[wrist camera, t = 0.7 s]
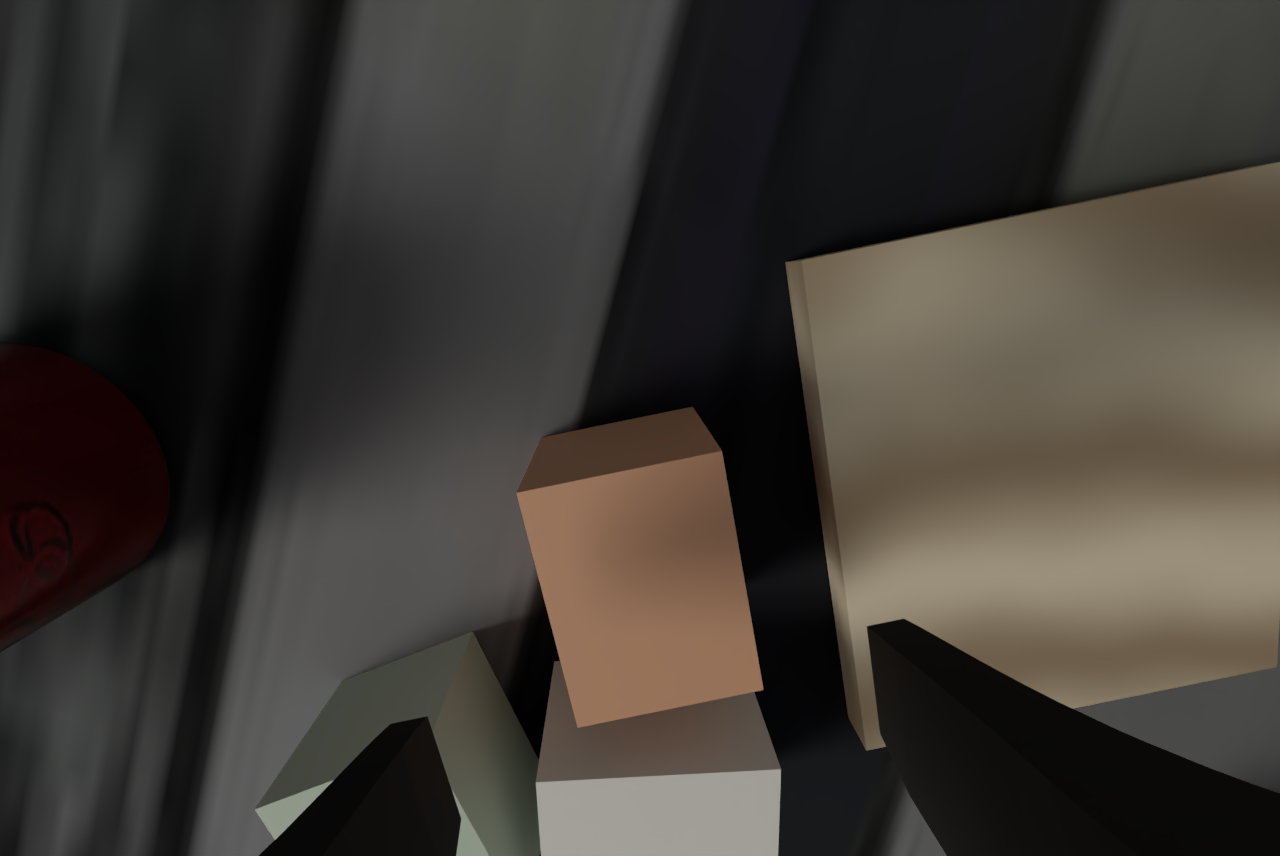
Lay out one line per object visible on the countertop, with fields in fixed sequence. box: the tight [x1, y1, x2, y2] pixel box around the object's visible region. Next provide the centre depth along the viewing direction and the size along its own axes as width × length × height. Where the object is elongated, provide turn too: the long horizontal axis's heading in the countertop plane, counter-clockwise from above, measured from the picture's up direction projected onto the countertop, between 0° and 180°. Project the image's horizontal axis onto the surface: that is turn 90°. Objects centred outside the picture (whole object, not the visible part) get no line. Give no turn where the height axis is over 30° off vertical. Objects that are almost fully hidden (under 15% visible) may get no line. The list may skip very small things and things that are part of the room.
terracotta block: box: [517, 407, 764, 728], centre depth 16 cm, size 6×4×5 cm
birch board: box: [785, 162, 1280, 751], centre depth 18 cm, size 15×13×2 cm
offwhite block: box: [536, 661, 781, 856], centre depth 18 cm, size 6×4×5 cm
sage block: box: [255, 631, 540, 856], centre depth 18 cm, size 6×4×5 cm
